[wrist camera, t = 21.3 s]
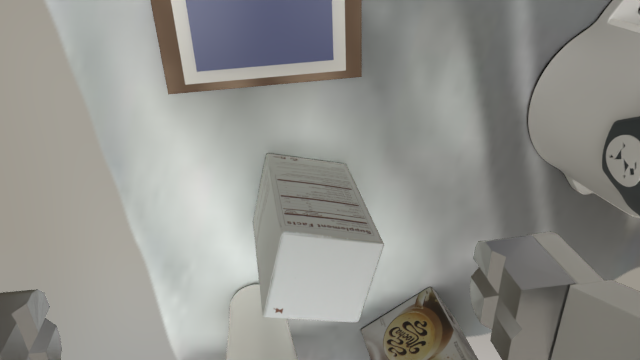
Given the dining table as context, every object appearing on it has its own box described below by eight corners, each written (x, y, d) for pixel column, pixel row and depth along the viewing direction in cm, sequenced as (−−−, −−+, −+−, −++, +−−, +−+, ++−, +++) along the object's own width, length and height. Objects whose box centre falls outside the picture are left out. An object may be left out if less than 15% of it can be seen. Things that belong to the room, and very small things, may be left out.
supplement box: (328, 230, 49) (359, 327, 38) (250, 222, 47) (259, 320, 36) (348, 161, 46) (388, 244, 35) (265, 149, 44) (280, 232, 33)
